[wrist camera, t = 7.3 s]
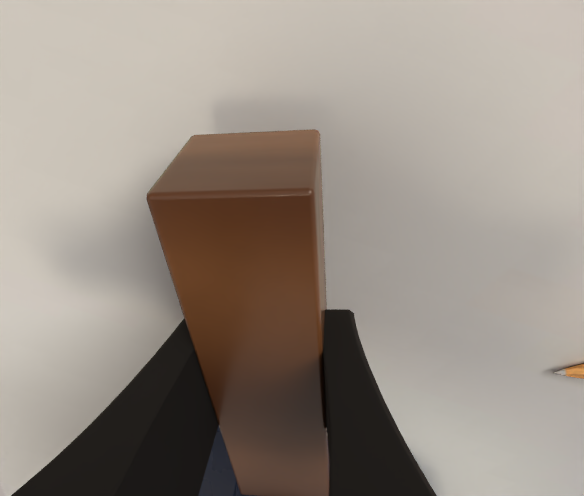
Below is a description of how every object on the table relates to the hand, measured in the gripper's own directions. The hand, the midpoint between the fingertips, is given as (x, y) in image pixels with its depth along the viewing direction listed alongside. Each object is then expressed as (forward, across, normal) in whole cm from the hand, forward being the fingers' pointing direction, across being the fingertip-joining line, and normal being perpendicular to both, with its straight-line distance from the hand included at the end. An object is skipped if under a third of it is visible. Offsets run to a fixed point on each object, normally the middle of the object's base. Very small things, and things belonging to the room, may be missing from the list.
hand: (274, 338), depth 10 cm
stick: (+1, 0, 0) cm, 1 cm away
